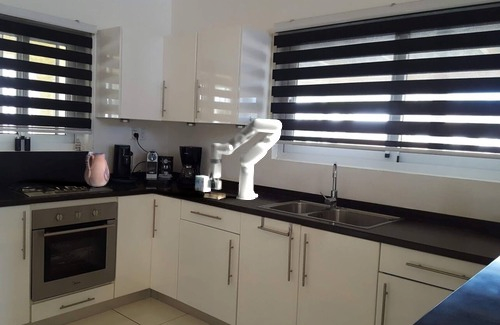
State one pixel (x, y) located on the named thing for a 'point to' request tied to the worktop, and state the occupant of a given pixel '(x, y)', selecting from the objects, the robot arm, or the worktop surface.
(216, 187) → the frame slab
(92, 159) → the ceramic pitcher
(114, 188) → the worktop surface
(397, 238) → the worktop surface
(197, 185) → the light bulb box
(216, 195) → the oak board
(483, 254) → the worktop surface
